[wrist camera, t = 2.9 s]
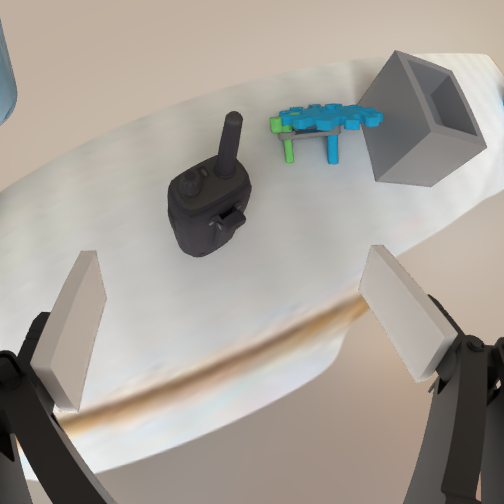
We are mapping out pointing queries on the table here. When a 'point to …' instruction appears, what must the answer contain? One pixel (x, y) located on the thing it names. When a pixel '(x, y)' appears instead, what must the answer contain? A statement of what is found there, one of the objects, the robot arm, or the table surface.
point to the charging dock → (419, 123)
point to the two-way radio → (211, 196)
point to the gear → (321, 124)
